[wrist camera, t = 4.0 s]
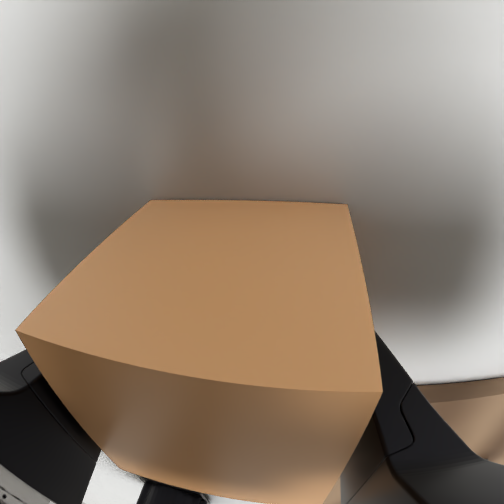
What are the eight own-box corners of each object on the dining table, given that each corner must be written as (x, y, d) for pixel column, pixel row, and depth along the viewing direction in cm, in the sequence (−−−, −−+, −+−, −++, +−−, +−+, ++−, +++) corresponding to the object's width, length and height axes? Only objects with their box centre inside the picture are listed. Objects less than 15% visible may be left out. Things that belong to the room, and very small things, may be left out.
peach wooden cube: (180, 338, 12) (119, 468, 7) (150, 200, 9) (15, 330, 4) (328, 352, 11) (320, 507, 6) (347, 204, 8) (382, 391, 3)
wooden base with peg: (315, 503, 22) (305, 576, 15) (370, 386, 12) (370, 569, 5) (494, 481, 18) (501, 541, 12) (616, 350, 9) (653, 434, 2)
